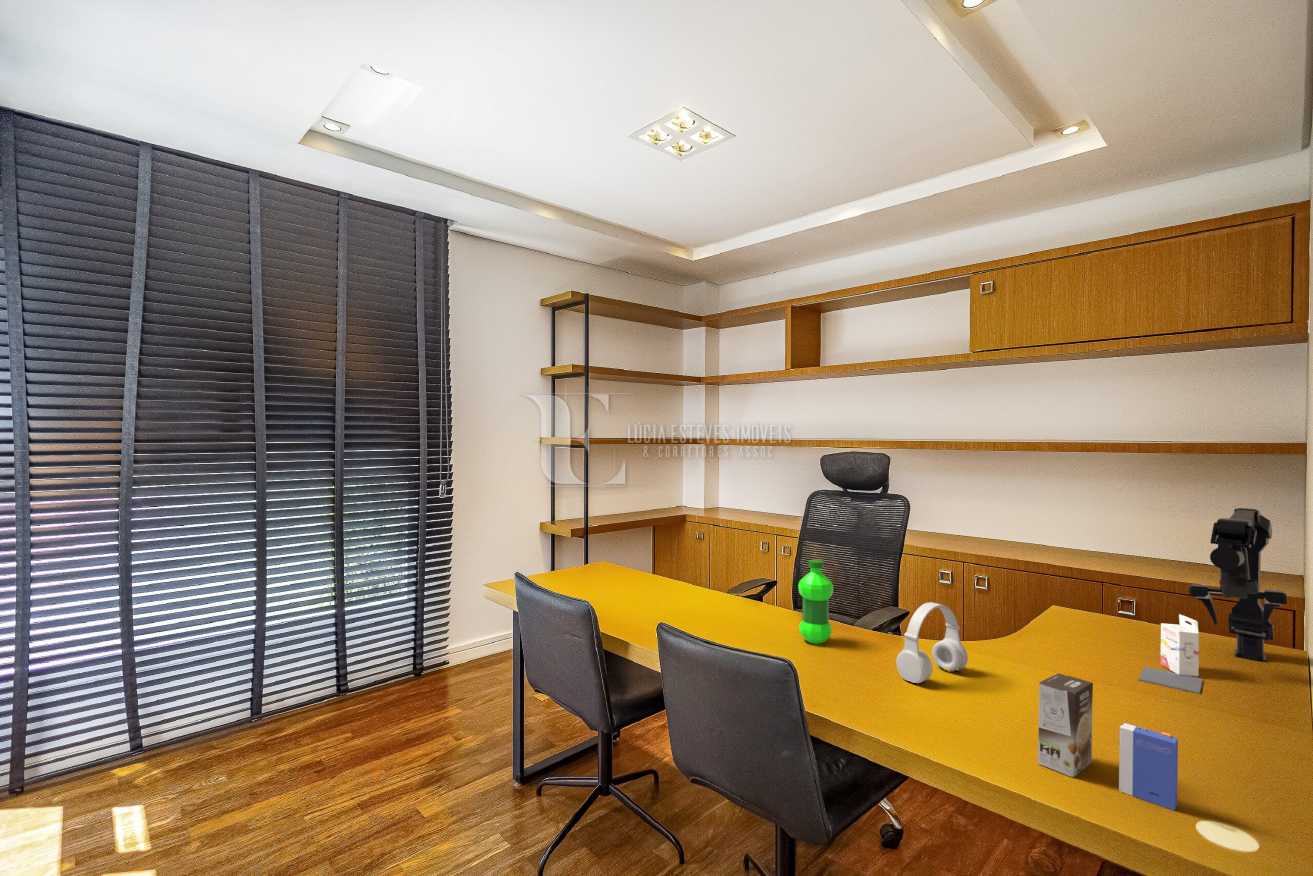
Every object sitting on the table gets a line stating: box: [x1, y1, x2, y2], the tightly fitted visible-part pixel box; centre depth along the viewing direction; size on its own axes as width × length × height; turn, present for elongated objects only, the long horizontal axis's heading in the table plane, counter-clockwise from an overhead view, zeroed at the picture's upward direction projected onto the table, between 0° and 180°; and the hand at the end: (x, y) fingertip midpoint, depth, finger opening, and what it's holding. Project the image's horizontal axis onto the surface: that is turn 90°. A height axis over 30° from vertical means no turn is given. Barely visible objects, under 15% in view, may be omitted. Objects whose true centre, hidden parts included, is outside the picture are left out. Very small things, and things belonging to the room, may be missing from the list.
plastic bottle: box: [797, 559, 834, 644], centre depth 190 cm, size 10×10×25 cm
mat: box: [1138, 666, 1203, 695], centre depth 161 cm, size 12×12×1 cm
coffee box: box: [1037, 673, 1094, 778], centre depth 120 cm, size 9×6×16 cm
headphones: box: [895, 601, 969, 684], centre depth 163 cm, size 20×8×19 cm, turn 121°
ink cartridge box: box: [1159, 613, 1200, 677], centre depth 167 cm, size 9×5×15 cm, turn 168°
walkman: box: [1118, 722, 1179, 811], centre depth 109 cm, size 8×3×12 cm, turn 42°
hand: (1239, 627), depth 161 cm, fingers open, 9 cm apart
